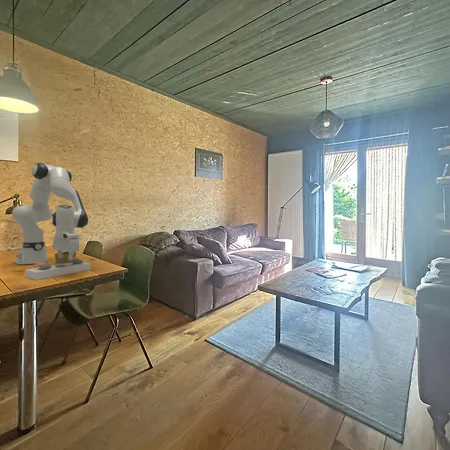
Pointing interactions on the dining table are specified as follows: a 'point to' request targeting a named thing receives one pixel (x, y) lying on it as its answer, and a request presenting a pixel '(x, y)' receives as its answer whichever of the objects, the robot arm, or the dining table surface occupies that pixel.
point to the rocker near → (42, 265)
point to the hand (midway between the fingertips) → (65, 258)
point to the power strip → (56, 270)
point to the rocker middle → (60, 262)
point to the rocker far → (76, 260)
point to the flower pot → (64, 257)
